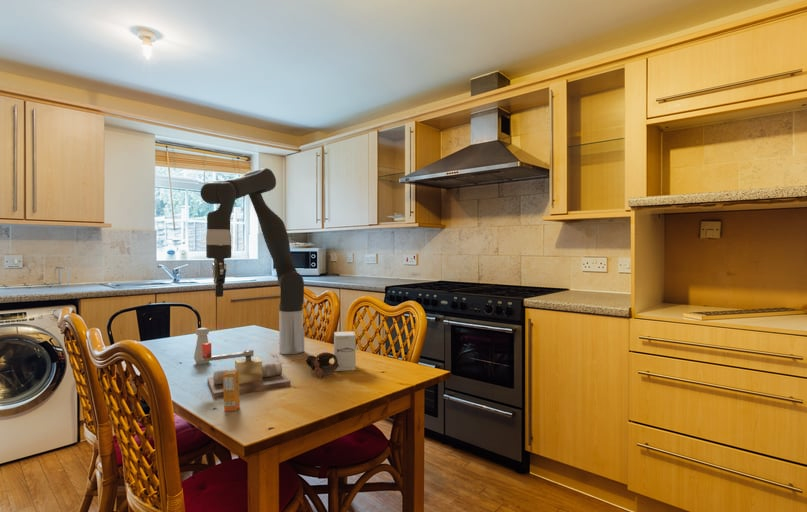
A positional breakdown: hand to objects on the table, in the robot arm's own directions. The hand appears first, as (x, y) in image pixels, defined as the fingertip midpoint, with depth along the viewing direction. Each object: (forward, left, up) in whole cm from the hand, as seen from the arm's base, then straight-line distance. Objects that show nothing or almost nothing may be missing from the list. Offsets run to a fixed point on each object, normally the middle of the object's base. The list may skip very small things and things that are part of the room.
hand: (219, 296), depth 139 cm
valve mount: (-7, +11, -27) cm, 30 cm away
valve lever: (-1, +11, -18) cm, 21 cm away
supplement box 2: (-40, +10, -27) cm, 49 cm away
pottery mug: (-31, +12, -27) cm, 43 cm away
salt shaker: (+3, -22, -27) cm, 35 cm away
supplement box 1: (+1, +30, -27) cm, 41 cm away
